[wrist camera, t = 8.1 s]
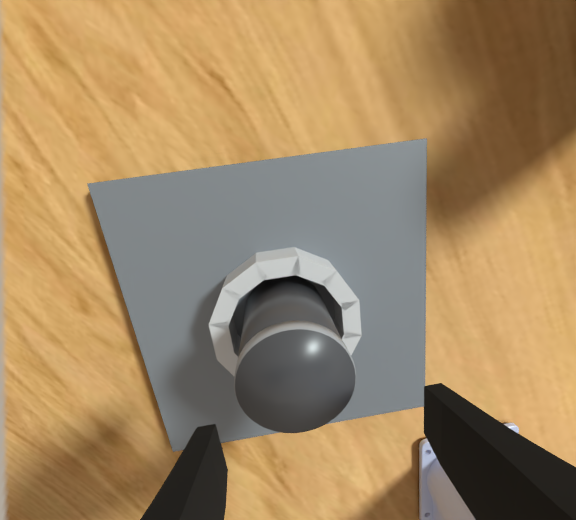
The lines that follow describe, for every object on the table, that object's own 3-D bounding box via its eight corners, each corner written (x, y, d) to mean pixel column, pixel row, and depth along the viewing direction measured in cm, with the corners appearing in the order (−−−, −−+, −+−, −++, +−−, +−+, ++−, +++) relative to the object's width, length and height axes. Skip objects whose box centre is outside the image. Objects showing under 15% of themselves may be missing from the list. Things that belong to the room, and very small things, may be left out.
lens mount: (417, 395, 22) (441, 429, 19) (177, 439, 21) (163, 481, 18) (417, 140, 16) (450, 132, 14) (97, 183, 16) (61, 184, 13)
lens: (326, 340, 18) (359, 424, 12) (250, 351, 18) (244, 442, 12) (320, 268, 17) (354, 321, 11) (238, 279, 17) (223, 339, 11)
